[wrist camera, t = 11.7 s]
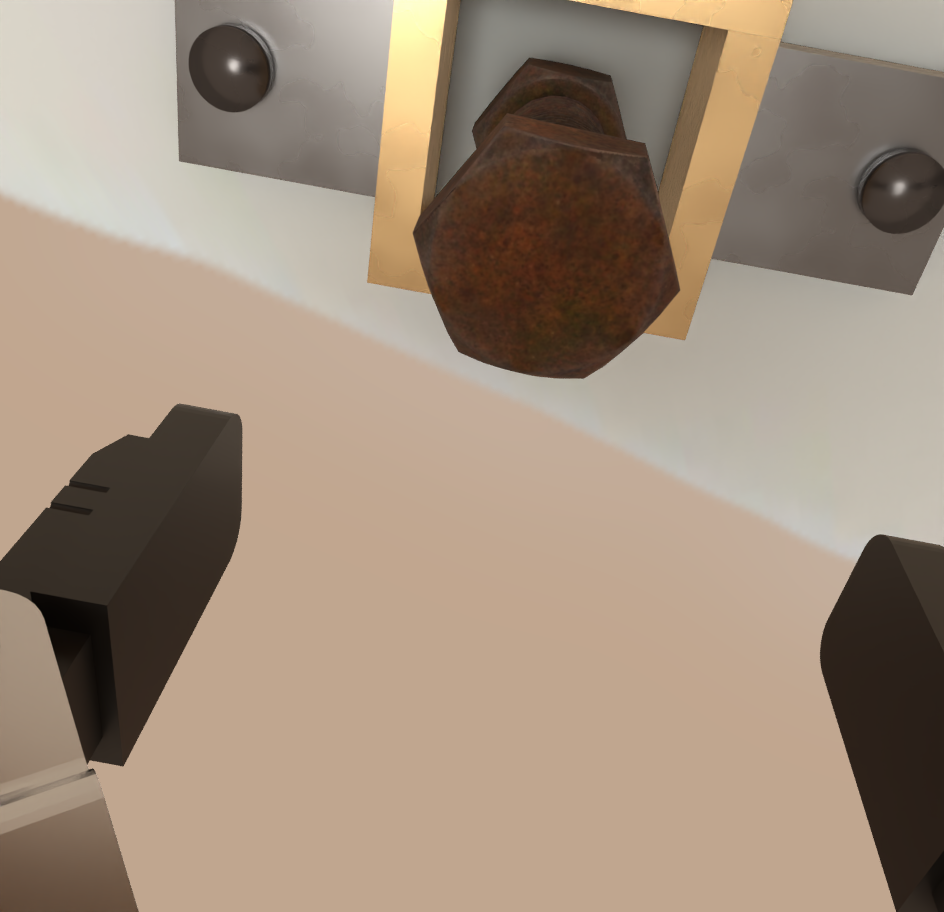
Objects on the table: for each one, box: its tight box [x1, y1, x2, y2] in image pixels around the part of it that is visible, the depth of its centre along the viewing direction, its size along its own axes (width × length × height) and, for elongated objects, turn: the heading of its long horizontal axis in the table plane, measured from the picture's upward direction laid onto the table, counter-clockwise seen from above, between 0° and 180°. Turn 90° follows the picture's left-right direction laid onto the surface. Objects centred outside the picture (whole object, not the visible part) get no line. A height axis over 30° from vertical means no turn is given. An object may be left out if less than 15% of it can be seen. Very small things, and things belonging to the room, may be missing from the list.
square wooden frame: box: [367, 0, 793, 340], centre depth 29 cm, size 11×11×4 cm
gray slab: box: [175, 0, 394, 197], centre depth 30 cm, size 8×7×2 cm
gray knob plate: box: [711, 42, 944, 295], centre depth 30 cm, size 9×7×2 cm
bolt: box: [413, 58, 680, 379], centre depth 25 cm, size 6×5×15 cm
